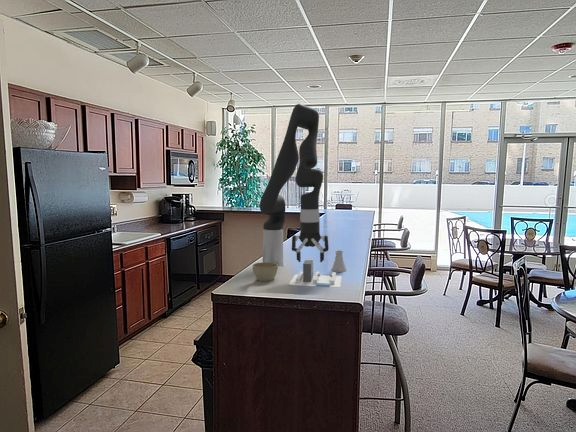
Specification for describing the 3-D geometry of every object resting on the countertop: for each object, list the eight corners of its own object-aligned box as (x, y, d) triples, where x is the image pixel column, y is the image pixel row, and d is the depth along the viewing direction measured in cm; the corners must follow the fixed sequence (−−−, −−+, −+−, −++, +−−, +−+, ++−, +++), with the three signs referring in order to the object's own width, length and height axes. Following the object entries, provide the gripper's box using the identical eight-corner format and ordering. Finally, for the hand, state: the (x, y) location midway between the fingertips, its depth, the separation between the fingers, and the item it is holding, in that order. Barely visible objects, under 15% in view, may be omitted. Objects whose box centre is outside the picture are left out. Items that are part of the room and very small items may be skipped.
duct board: (288, 288, 147) (288, 279, 146) (295, 277, 163) (295, 269, 162) (340, 291, 144) (340, 281, 143) (341, 279, 159) (341, 271, 159)
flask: (336, 276, 165) (336, 253, 164) (327, 272, 171) (327, 250, 170) (350, 274, 168) (351, 251, 167) (340, 271, 174) (341, 248, 173)
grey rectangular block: (303, 281, 151) (303, 263, 150) (306, 275, 160) (306, 258, 159) (310, 282, 150) (310, 264, 150) (313, 276, 159) (313, 259, 158)
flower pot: (268, 287, 149) (268, 268, 148) (247, 283, 154) (247, 265, 153) (282, 281, 157) (282, 263, 156) (262, 278, 162) (262, 261, 162)
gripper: (328, 219, 156) (329, 260, 157) (292, 219, 158) (293, 259, 159) (327, 221, 148) (328, 264, 150) (290, 221, 150) (290, 263, 152)
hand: (310, 261), depth 154 cm, fingers open, 8 cm apart
